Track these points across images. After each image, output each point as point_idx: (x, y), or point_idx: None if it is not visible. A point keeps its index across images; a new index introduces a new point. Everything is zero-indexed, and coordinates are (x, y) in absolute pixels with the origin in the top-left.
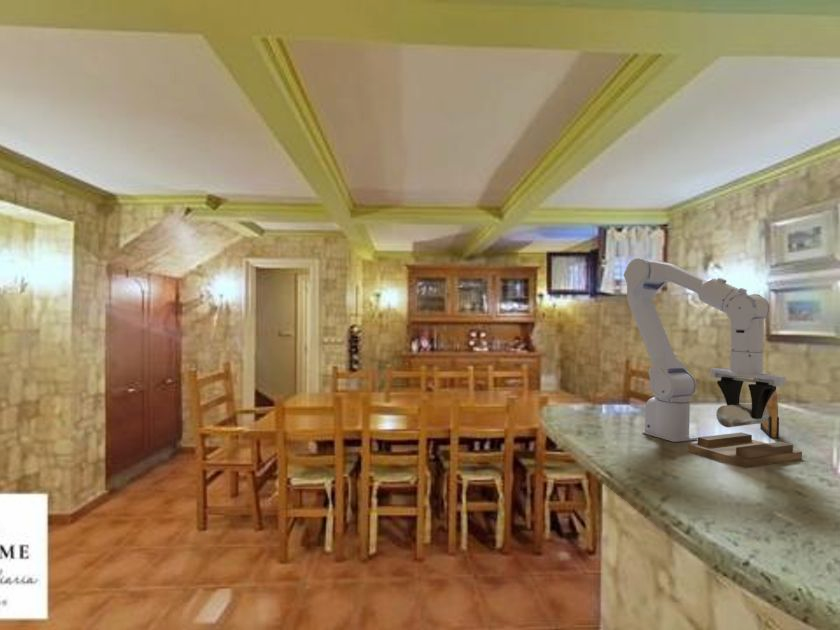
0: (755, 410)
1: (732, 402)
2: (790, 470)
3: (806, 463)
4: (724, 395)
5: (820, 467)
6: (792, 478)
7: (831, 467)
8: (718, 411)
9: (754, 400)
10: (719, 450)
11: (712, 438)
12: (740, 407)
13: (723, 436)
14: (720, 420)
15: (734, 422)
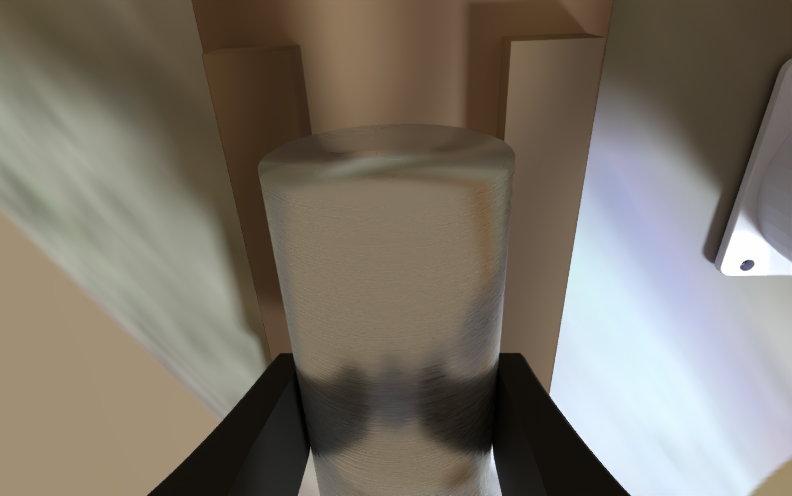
0: (242, 401)
1: (517, 455)
2: (156, 198)
3: (242, 355)
4: (616, 492)
5: (188, 351)
6: (30, 74)
7: (185, 384)
8: (490, 161)
9: (189, 486)
10: (414, 38)
11: (528, 123)
12: (320, 341)
13: (530, 248)
14: (454, 134)
15: (303, 144)
